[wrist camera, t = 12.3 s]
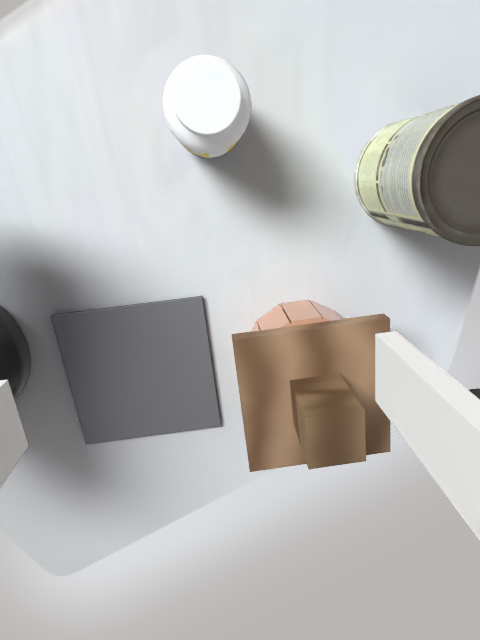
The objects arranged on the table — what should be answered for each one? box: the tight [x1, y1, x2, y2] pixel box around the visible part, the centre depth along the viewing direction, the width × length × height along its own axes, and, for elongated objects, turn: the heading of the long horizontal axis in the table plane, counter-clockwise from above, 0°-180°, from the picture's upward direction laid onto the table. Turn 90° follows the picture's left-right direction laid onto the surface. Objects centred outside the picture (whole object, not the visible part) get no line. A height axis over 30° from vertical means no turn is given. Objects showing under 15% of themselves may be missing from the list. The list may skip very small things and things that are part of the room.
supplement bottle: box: [163, 55, 251, 158], centre depth 34 cm, size 7×7×13 cm
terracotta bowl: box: [252, 300, 342, 331], centre depth 46 cm, size 12×12×6 cm
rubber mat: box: [51, 296, 221, 444], centre depth 48 cm, size 16×16×1 cm
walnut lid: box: [232, 314, 390, 472], centre depth 40 cm, size 15×15×8 cm
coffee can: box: [355, 95, 480, 246], centre depth 36 cm, size 10×10×14 cm
